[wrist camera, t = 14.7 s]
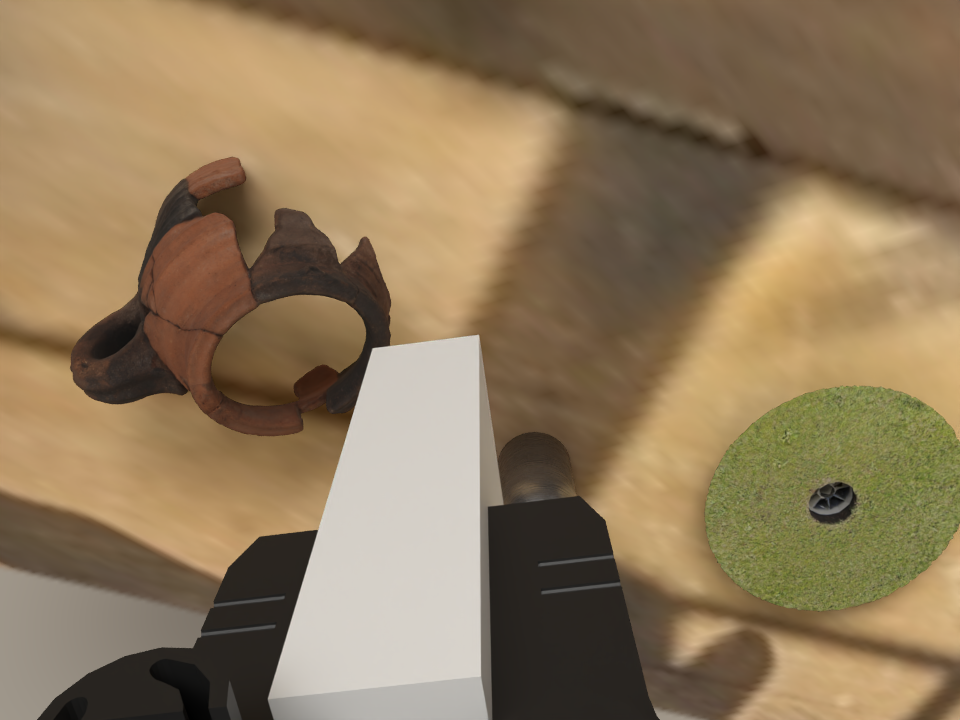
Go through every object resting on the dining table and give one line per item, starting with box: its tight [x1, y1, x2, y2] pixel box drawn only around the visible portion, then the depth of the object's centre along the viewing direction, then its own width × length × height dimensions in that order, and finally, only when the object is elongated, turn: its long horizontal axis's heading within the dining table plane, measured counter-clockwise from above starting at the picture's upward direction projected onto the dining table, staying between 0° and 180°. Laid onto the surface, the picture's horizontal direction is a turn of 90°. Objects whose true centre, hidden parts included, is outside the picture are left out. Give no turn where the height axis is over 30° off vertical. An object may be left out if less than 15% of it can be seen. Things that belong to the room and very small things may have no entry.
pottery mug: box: [70, 157, 391, 436], centre depth 33 cm, size 12×9×8 cm
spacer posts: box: [498, 432, 576, 505], centre depth 30 cm, size 27×30×7 cm
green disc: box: [705, 386, 960, 612], centre depth 38 cm, size 11×11×2 cm
